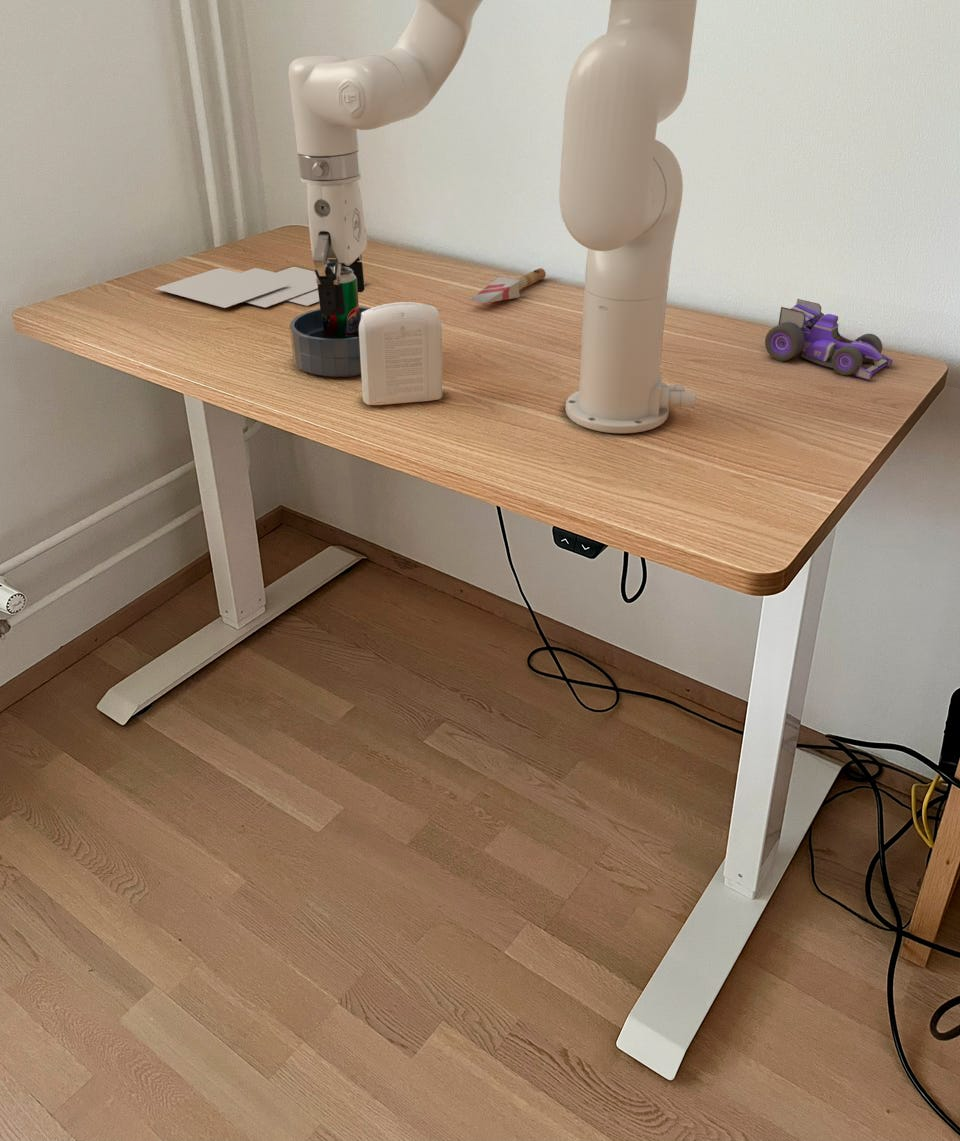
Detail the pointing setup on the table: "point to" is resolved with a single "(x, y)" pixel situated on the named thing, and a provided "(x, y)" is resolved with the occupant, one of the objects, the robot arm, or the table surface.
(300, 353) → the bowl
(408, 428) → the table surface
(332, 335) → the soda can
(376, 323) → the photo printer
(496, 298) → the paintbrush
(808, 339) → the toy race car
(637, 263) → the robot arm
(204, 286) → the paper stack
